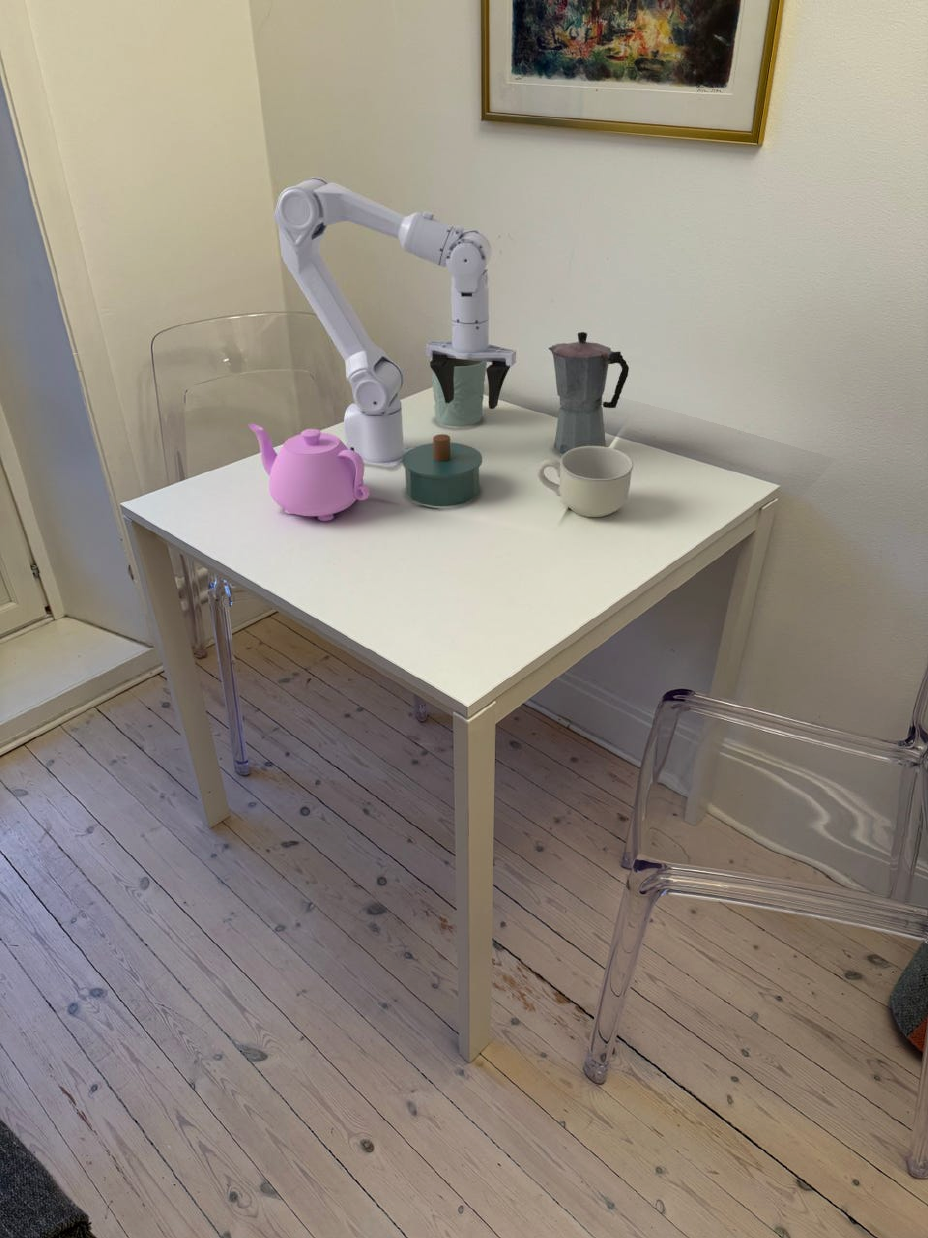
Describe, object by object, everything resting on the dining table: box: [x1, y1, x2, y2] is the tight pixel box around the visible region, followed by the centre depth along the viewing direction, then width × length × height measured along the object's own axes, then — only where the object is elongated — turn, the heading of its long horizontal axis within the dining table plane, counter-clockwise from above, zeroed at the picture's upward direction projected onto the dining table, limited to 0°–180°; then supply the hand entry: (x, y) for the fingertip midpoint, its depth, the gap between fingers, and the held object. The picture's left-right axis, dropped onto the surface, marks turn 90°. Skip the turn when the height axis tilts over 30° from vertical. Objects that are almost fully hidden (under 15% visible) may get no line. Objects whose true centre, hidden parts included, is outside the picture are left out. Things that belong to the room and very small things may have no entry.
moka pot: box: [548, 331, 630, 455], centre depth 148 cm, size 10×15×20 cm, turn 54°
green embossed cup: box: [430, 357, 488, 428], centre depth 162 cm, size 10×10×12 cm
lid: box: [401, 433, 483, 478], centre depth 136 cm, size 12×12×4 cm
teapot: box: [247, 422, 371, 522], centre depth 134 cm, size 20×14×12 cm
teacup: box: [537, 446, 634, 518], centre depth 133 cm, size 14×11×8 cm
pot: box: [404, 467, 480, 510], centre depth 139 cm, size 11×11×5 cm
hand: (471, 403), depth 143 cm, fingers open, 7 cm apart
